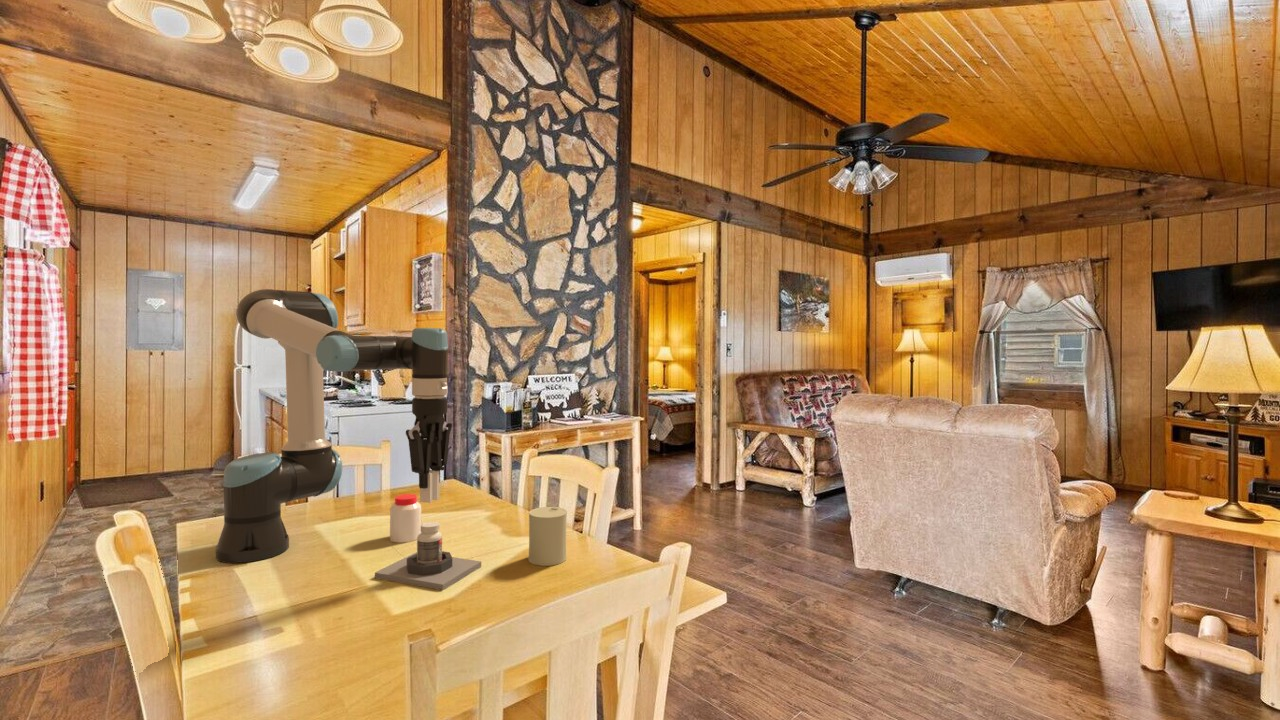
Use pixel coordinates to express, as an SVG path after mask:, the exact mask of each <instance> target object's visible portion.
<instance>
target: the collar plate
mask: <svg viewBox="0 0 1280 720" xmlns="http://www.w3.org/2000/svg"><path fill="white" fill-rule="evenodd" d="M481 567H482V561H480V560H474V559H468V558H461V557H457V556H456V557H455V556H452V554H451V552H449V551H443V550H442V561H440V562H438V563H432V564H425V565H424V564H418V563H417V551H416V552H414V553H411V554H409V555H408V556H405V557H403V558H402V559H399V560H398V561H395V562H393V563H392V564H389V565H387V566H385V567H383V568H382V569H379V570H377V571H375V572H374V579H379V580H385V581H390V582H394V583H395V582H396V583H401V584H406V585H410V586H411V585H412V586H417V587H418V586H419V587H424V588H427V589H435V590H439V591H444V590H446V589H448V588H449V587H451V586H452V585H454V584H455V583H457V582H459V581H460V580H462V579H464V578H465V577H467V576H468V575H470V574H473V572H475V571H477V570H478V569H480V568H481Z"/></svg>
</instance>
